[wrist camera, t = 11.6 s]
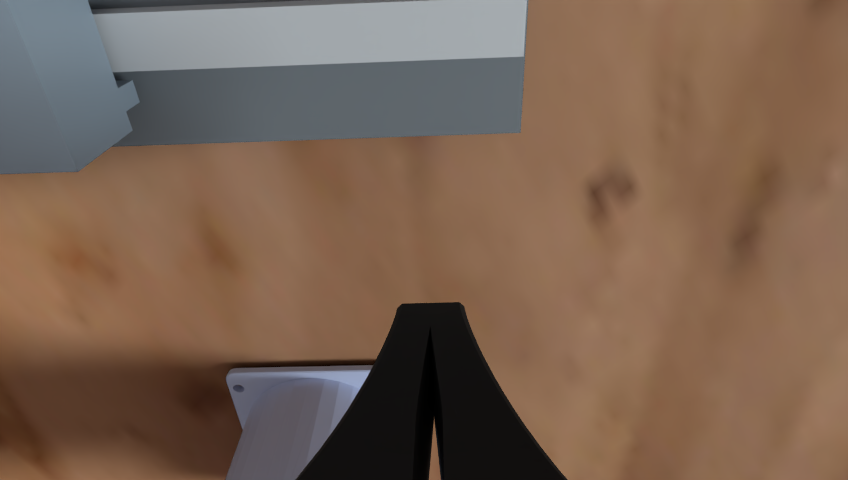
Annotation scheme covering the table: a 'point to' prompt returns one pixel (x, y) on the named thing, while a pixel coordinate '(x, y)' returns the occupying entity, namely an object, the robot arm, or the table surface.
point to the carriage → (56, 88)
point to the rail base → (315, 68)
